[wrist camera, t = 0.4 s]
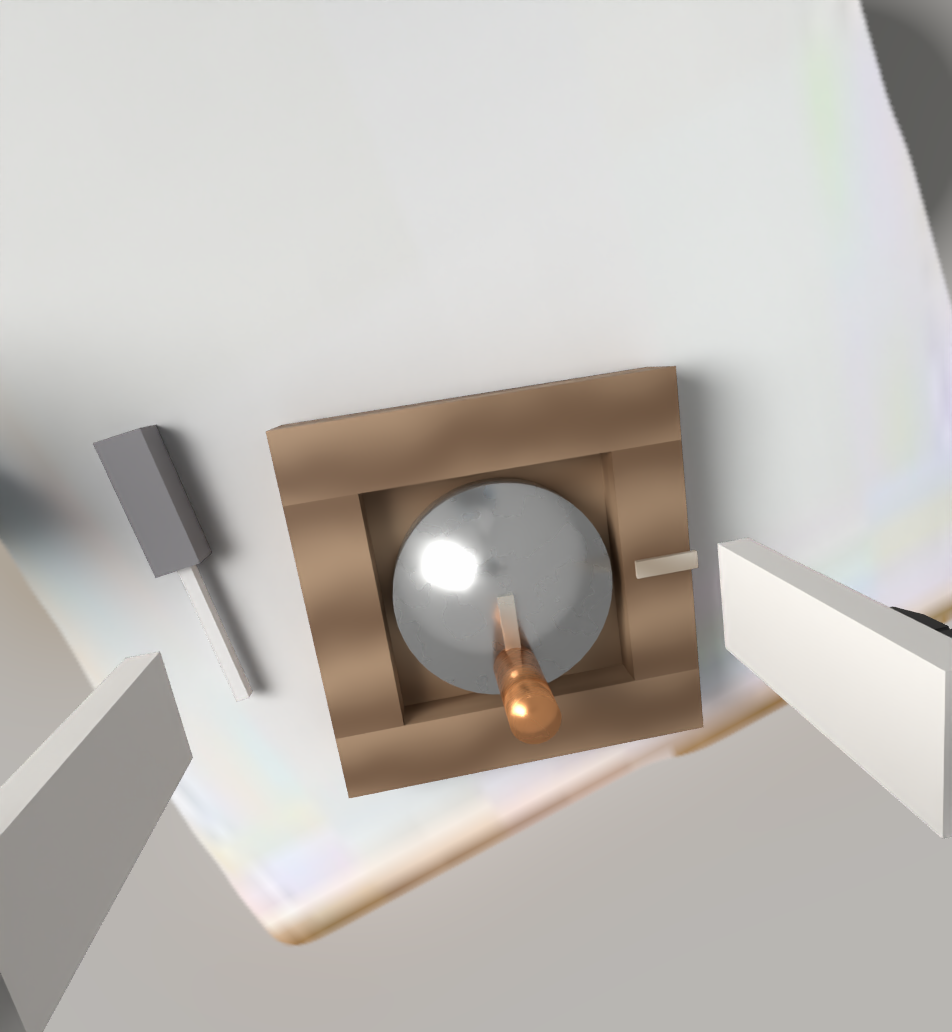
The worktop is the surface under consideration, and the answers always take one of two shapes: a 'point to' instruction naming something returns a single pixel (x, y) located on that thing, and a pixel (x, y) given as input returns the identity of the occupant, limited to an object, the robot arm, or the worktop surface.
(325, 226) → the worktop surface
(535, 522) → the dial
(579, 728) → the housing
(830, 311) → the worktop surface
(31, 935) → the robot arm
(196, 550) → the screwdriver
